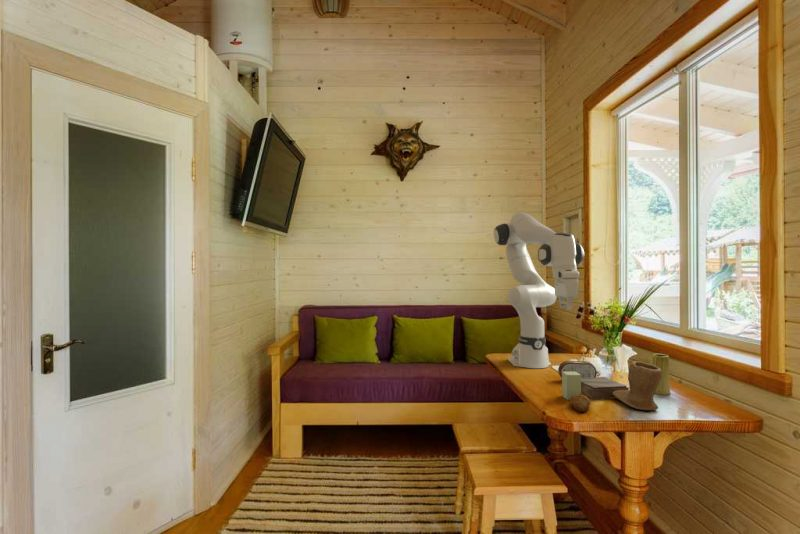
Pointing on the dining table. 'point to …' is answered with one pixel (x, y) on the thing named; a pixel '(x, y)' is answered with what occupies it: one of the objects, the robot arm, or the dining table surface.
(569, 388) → the block
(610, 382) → the plinth
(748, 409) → the dining table surface
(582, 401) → the brown rounded lump
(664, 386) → the vase
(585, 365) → the tin
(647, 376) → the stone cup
